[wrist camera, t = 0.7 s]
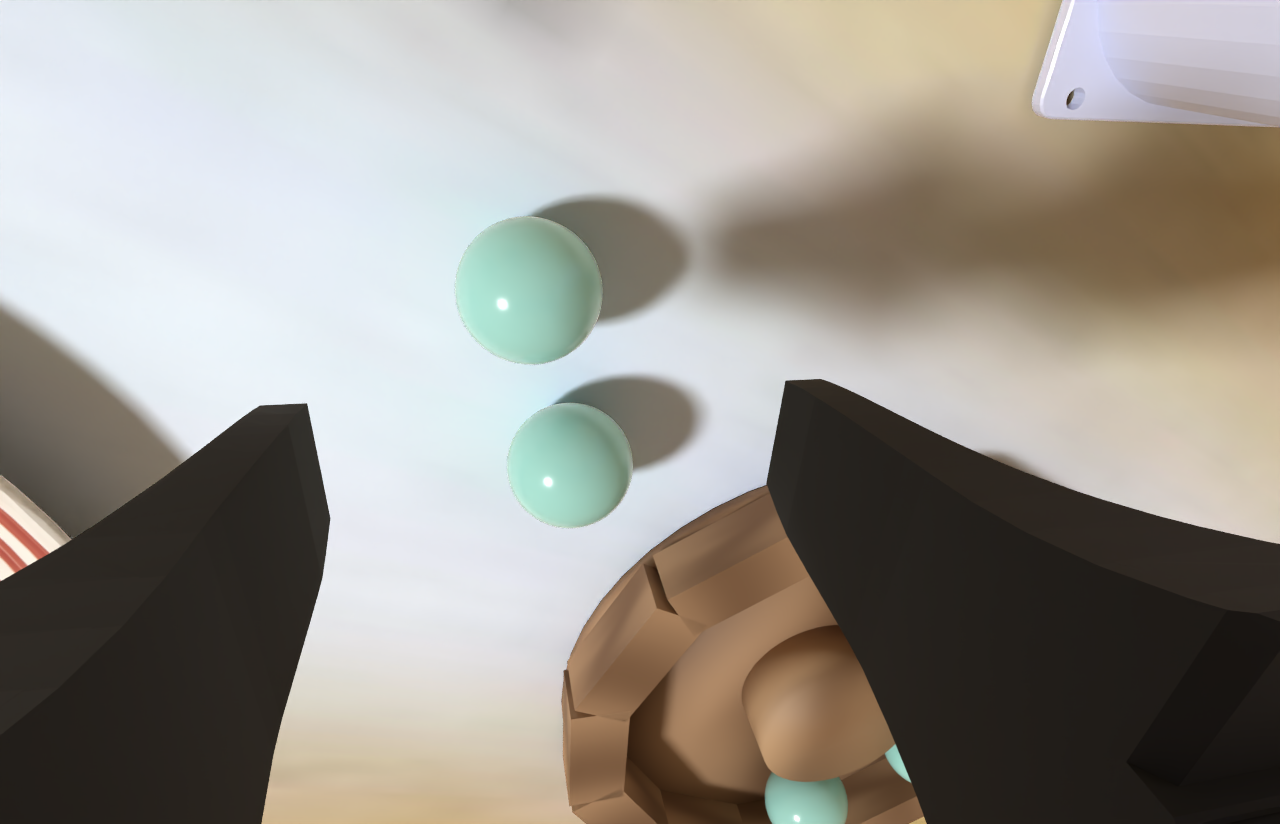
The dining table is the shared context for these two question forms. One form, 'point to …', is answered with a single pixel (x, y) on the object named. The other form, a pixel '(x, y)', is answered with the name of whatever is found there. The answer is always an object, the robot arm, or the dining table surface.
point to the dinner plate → (24, 531)
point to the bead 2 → (569, 465)
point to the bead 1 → (528, 290)
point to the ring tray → (721, 686)
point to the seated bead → (805, 801)
